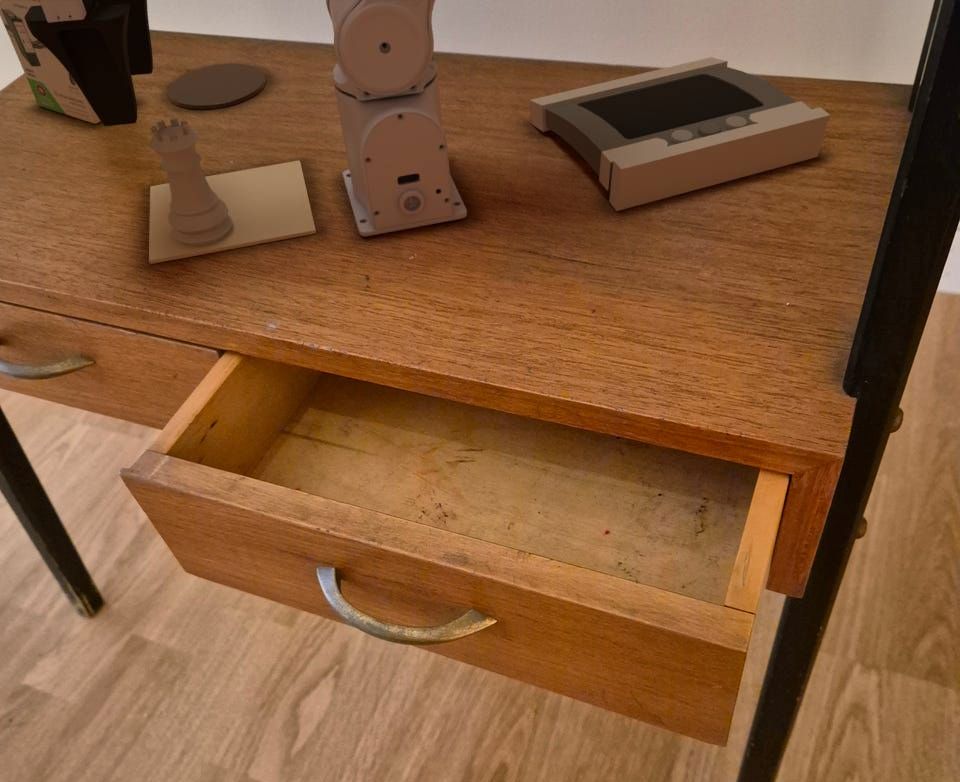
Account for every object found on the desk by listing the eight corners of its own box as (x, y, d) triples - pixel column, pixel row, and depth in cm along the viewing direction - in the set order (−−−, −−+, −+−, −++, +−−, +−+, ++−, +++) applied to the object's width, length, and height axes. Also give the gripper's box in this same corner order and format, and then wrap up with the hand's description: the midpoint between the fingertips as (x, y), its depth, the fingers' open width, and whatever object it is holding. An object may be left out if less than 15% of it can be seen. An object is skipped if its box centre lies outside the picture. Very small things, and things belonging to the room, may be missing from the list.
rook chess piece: (220, 251, 63) (186, 144, 57) (163, 247, 63) (123, 141, 57) (243, 217, 65) (213, 112, 60) (188, 214, 66) (153, 110, 60)
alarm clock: (621, 169, 61) (528, 64, 70) (615, 225, 64) (527, 119, 74) (830, 114, 64) (714, 22, 74) (813, 171, 68) (704, 76, 78)
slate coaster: (269, 100, 80) (268, 95, 79) (169, 116, 79) (167, 112, 78) (261, 61, 86) (260, 57, 85) (168, 76, 85) (167, 72, 84)
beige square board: (316, 233, 64) (315, 229, 64) (150, 264, 62) (148, 260, 62) (300, 163, 71) (299, 160, 71) (151, 189, 70) (150, 186, 70)
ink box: (35, 106, 82) (-26, -33, 73) (77, 85, 84) (23, -52, 76) (95, 126, 78) (38, -19, 70) (138, 103, 81) (88, -39, 72)
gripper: (6, -172, 53) (88, 58, 63) (-66, -107, 43) (45, 153, 53) (123, -181, 54) (187, 49, 64) (78, -118, 44) (162, 142, 54)
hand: (129, 96), depth 59 cm, fingers open, 7 cm apart
